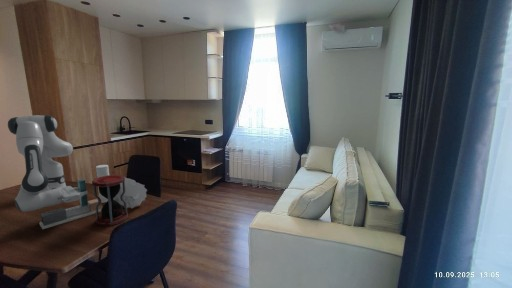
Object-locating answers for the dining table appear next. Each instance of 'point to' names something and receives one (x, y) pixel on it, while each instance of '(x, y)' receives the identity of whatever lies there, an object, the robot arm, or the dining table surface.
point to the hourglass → (110, 200)
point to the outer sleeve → (53, 216)
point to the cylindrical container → (101, 171)
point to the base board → (69, 219)
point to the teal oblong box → (84, 203)
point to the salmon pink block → (94, 205)
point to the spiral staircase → (131, 193)
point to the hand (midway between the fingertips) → (85, 190)
